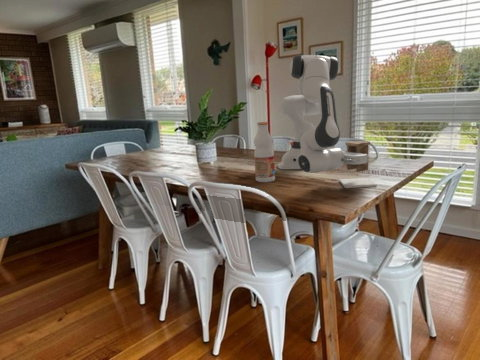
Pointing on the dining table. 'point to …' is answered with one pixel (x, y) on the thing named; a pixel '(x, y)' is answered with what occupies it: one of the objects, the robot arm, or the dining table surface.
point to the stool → (358, 148)
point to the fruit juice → (264, 154)
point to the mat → (357, 182)
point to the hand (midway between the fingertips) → (359, 154)
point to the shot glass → (369, 151)
